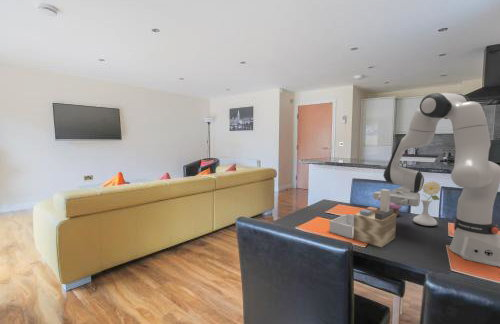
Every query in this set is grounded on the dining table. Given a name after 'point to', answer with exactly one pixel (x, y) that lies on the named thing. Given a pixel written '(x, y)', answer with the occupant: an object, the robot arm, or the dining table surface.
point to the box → (343, 226)
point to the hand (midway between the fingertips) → (389, 200)
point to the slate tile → (366, 212)
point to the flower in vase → (424, 217)
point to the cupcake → (395, 208)
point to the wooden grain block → (374, 229)
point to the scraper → (384, 205)
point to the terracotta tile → (372, 209)
